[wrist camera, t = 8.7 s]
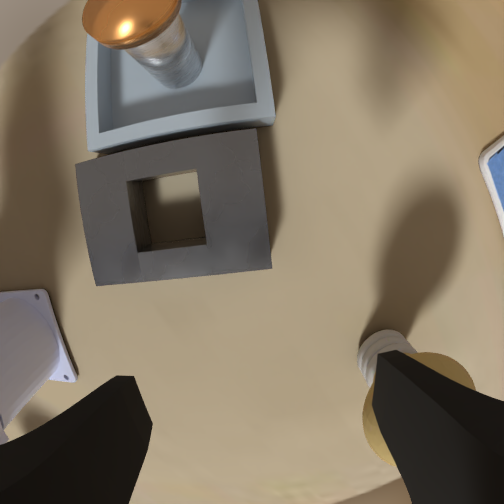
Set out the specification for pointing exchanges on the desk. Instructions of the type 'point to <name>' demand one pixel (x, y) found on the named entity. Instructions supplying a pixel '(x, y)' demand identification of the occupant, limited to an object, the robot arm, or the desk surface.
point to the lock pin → (147, 36)
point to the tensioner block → (212, 201)
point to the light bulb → (367, 366)
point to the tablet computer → (494, 175)
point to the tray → (187, 98)
